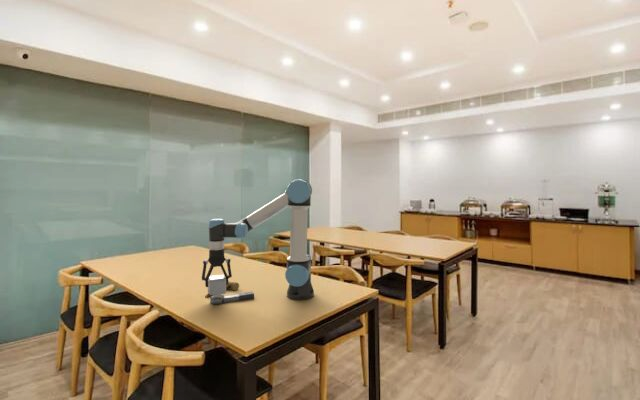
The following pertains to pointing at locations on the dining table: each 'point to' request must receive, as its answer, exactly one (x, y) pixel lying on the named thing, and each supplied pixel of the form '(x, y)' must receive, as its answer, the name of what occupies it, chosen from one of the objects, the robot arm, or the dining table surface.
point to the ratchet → (230, 298)
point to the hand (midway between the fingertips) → (216, 291)
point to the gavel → (228, 287)
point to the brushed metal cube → (217, 284)
